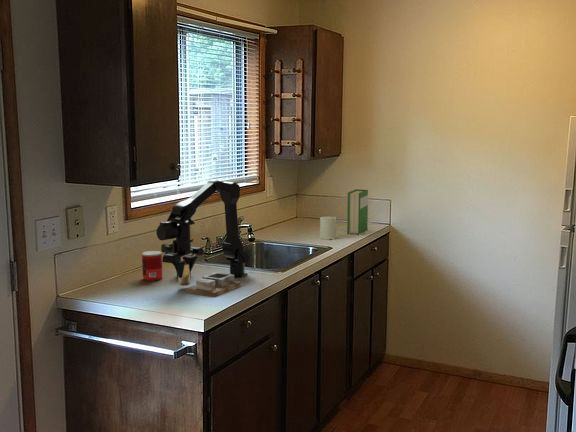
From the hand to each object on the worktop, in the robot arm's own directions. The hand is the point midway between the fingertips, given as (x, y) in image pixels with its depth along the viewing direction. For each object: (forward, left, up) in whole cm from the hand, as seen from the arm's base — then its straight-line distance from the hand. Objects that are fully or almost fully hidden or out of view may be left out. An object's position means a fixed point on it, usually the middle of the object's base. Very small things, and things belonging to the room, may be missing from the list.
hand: (184, 276), depth 246 cm
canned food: (-6, -21, -5) cm, 22 cm away
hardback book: (-147, +12, -5) cm, 148 cm away
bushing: (0, 0, -3) cm, 3 cm away
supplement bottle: (-15, -12, -5) cm, 20 cm away
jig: (-5, +10, -5) cm, 13 cm away
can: (-122, +5, -5) cm, 122 cm away
